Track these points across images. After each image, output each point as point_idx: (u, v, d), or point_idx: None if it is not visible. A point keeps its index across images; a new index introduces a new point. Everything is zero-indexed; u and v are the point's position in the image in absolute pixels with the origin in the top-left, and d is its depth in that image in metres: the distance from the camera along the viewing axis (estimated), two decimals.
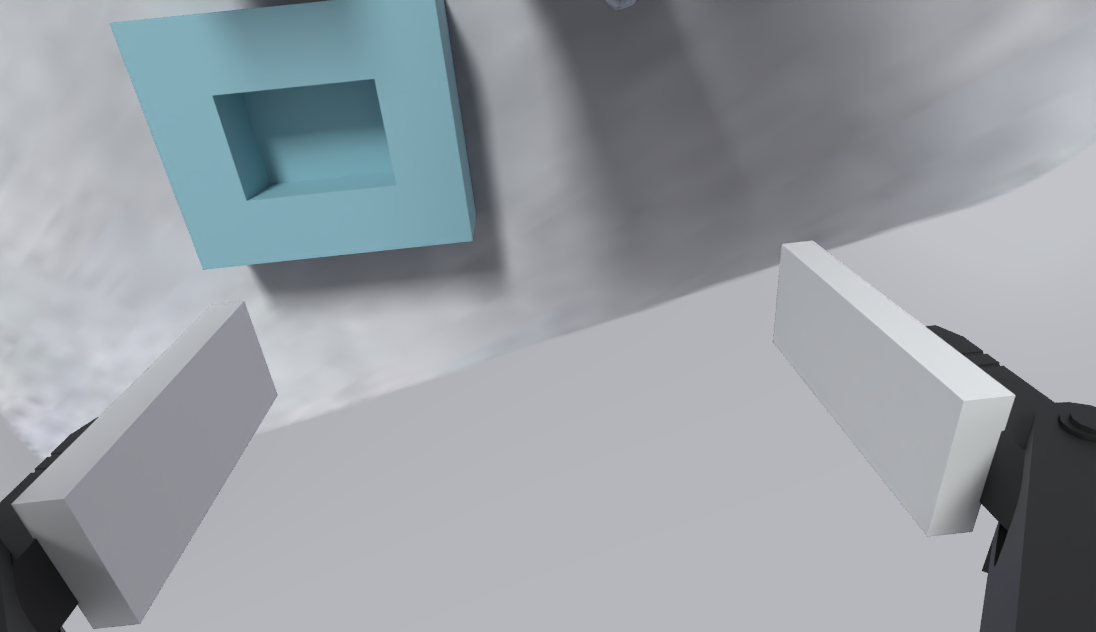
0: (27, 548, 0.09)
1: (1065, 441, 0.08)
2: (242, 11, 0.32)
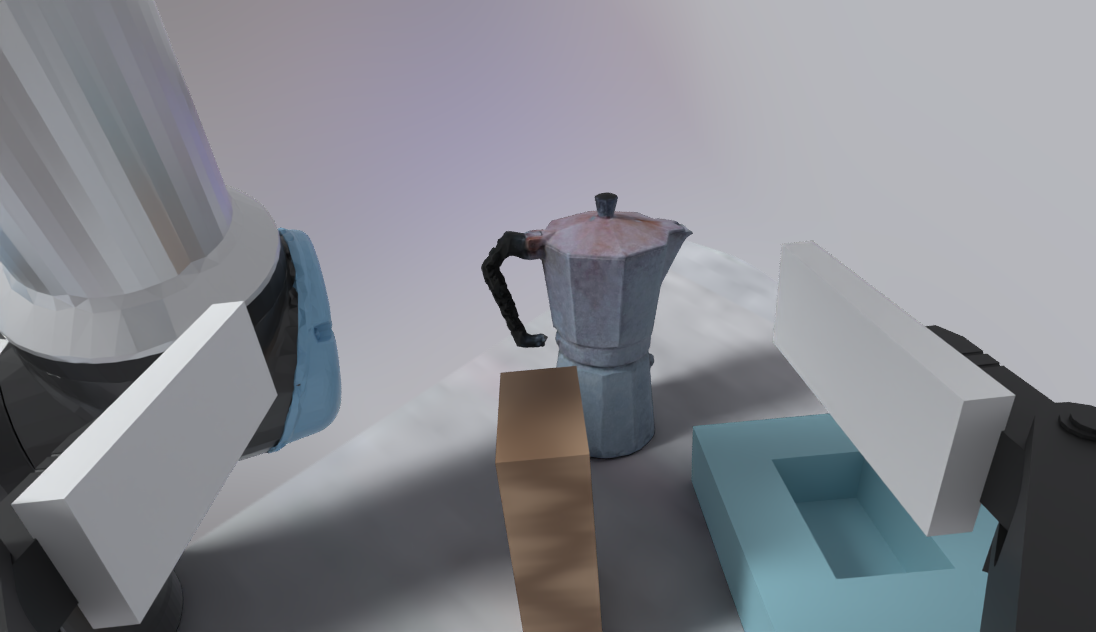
0: (27, 548, 0.09)
1: (1065, 441, 0.08)
2: (740, 540, 0.33)
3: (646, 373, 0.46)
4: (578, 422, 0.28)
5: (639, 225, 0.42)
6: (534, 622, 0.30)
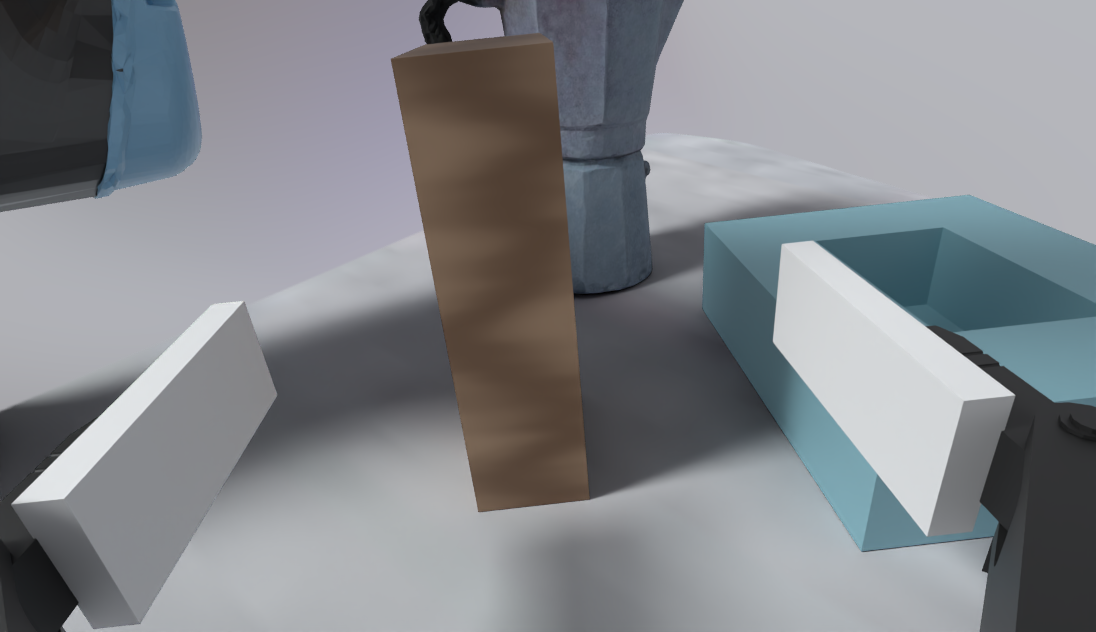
0: (27, 548, 0.09)
1: (1065, 441, 0.08)
2: None
3: (641, 180, 0.36)
4: (537, 39, 0.17)
5: None
6: (478, 405, 0.20)
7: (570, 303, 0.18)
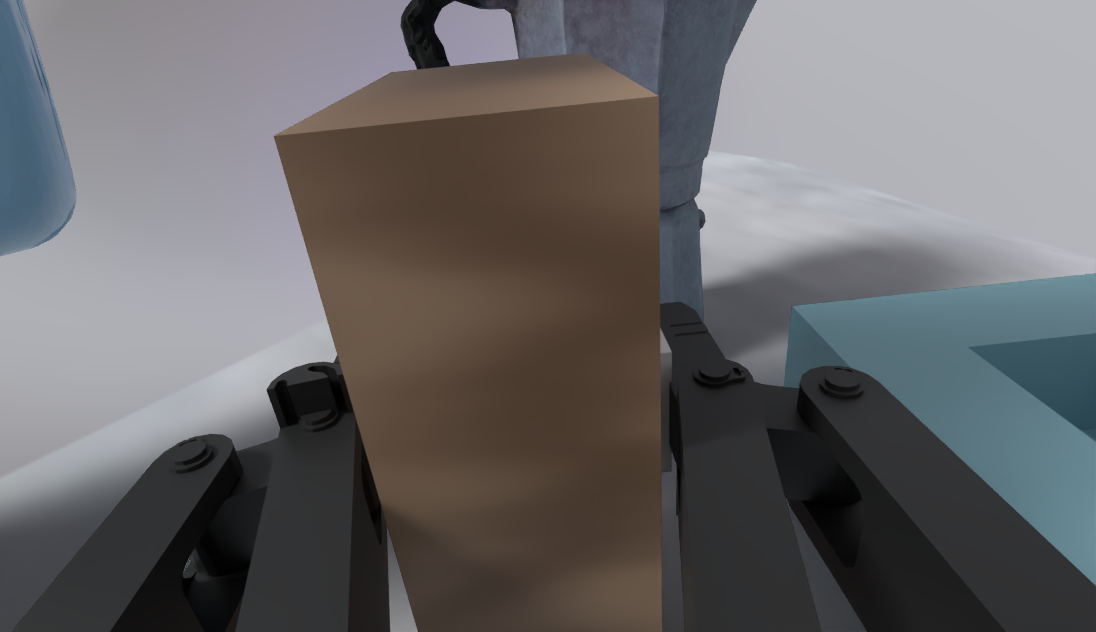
0: None
1: (700, 393, 0.10)
2: None
3: (695, 237, 0.27)
4: (602, 76, 0.08)
5: None
6: None
7: (655, 573, 0.10)
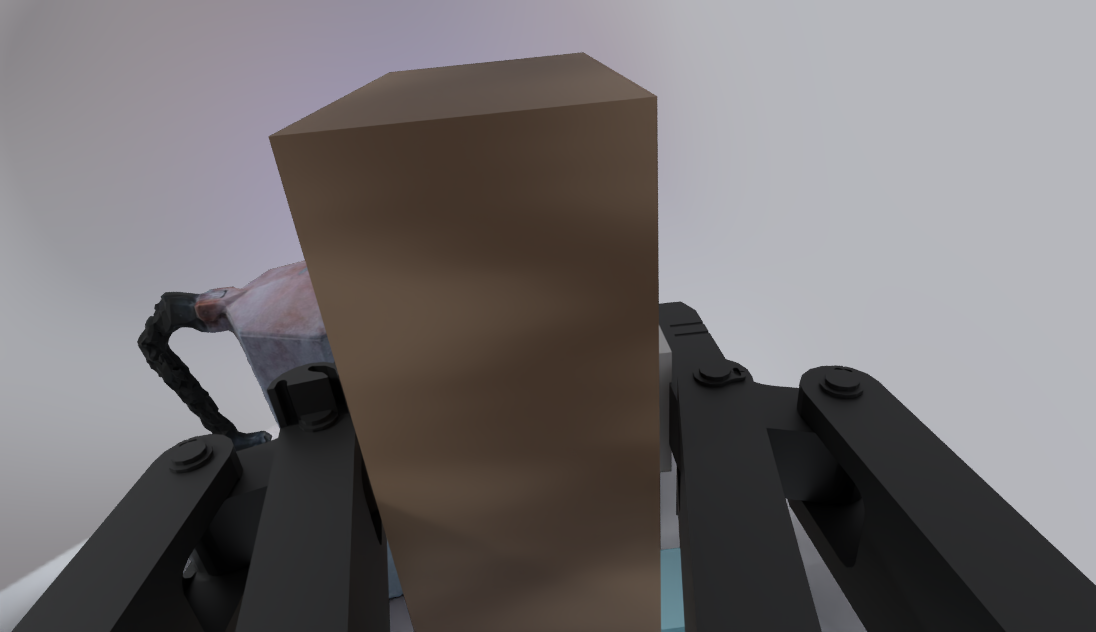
0: None
1: (700, 392, 0.10)
2: None
3: None
4: (600, 77, 0.08)
5: None
6: None
7: (653, 576, 0.09)
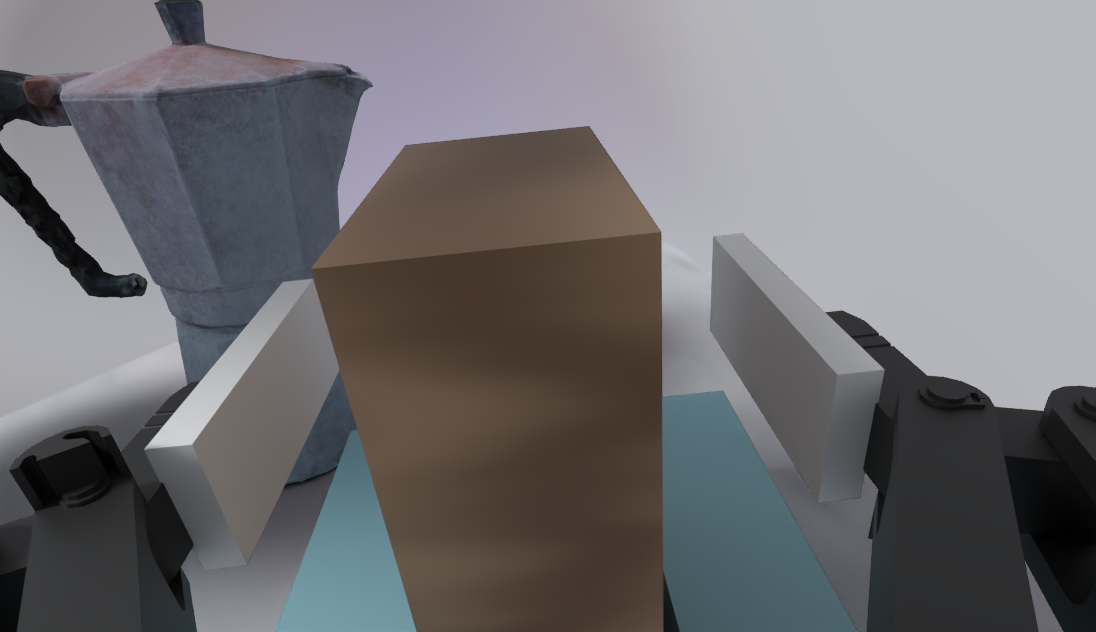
0: (156, 490, 0.10)
1: (925, 412, 0.09)
2: None
3: None
4: (607, 184, 0.09)
5: (245, 58, 0.23)
6: None
7: None
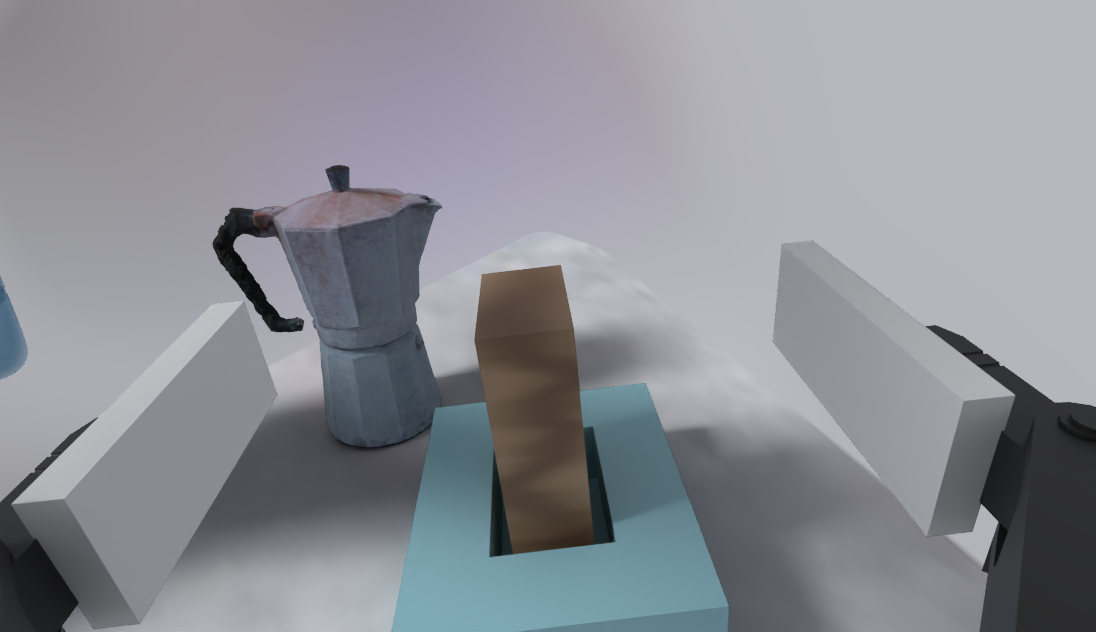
0: (27, 548, 0.09)
1: (1065, 441, 0.08)
2: (414, 520, 0.31)
3: (410, 356, 0.44)
4: (562, 305, 0.26)
5: (373, 198, 0.40)
6: (522, 529, 0.29)
7: (584, 467, 0.27)
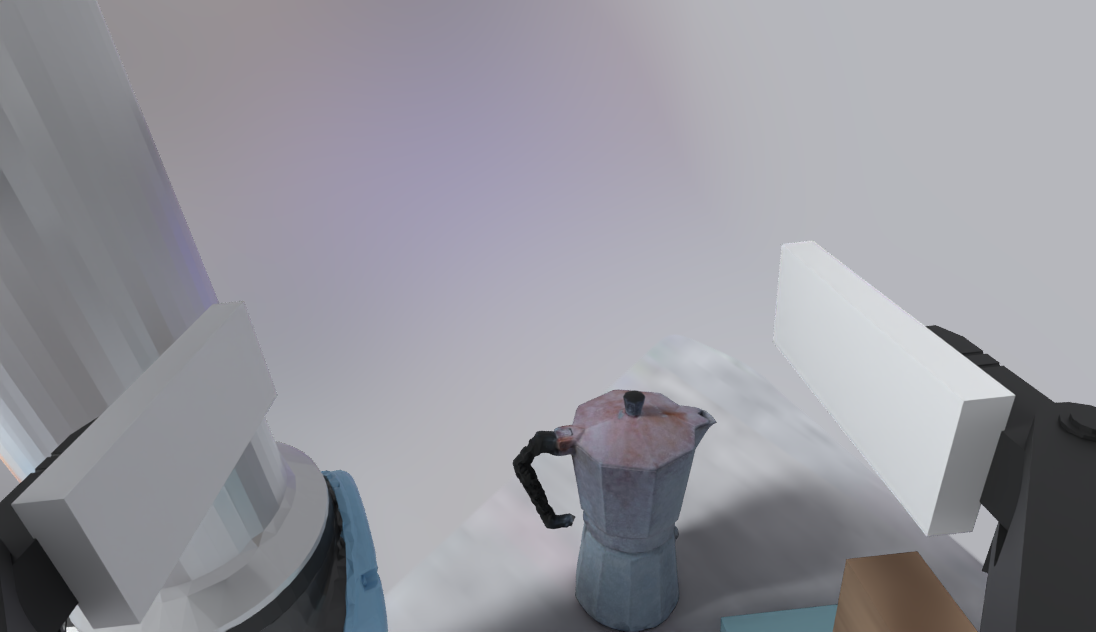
0: (27, 548, 0.09)
1: (1065, 441, 0.08)
2: None
3: (672, 550, 0.47)
4: (970, 629, 0.30)
5: (666, 423, 0.43)
6: None
7: None
